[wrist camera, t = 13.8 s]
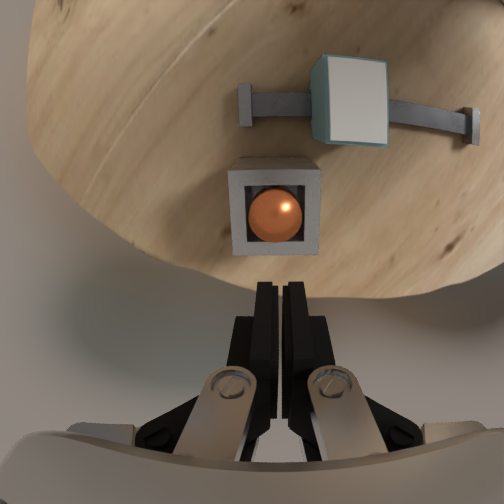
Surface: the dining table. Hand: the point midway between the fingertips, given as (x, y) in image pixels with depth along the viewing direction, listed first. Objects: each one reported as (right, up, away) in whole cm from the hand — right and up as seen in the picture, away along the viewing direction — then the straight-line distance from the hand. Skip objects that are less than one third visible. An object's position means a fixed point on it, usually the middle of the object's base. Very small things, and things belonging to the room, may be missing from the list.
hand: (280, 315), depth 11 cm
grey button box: (+1, +9, +20) cm, 22 cm away
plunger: (+1, +8, +18) cm, 20 cm away
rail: (+12, +17, +16) cm, 26 cm away
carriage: (+7, +17, +16) cm, 25 cm away
